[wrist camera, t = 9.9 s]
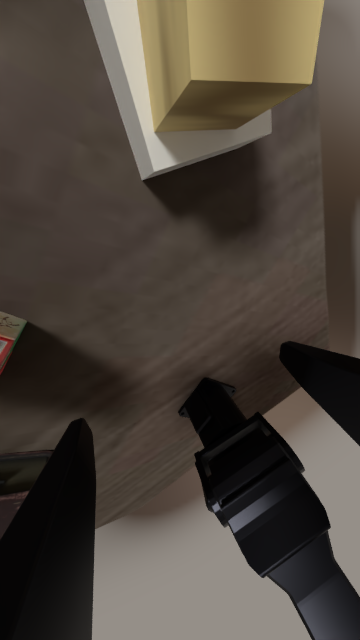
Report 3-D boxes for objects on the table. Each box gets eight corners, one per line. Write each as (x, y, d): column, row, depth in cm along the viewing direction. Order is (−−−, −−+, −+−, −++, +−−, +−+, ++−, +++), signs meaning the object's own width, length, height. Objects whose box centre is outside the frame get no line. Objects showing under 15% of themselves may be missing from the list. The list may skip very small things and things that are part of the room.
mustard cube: (239, -15, 9) (354, -199, 5) (236, 129, 12) (311, 83, 8) (132, -34, 8) (169, -293, 4) (153, 132, 11) (190, 80, 6)
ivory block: (217, -25, 12) (265, -120, 8) (235, 149, 16) (271, 132, 13) (82, -1, 10) (75, -101, 7) (141, 181, 15) (154, 171, 11)
